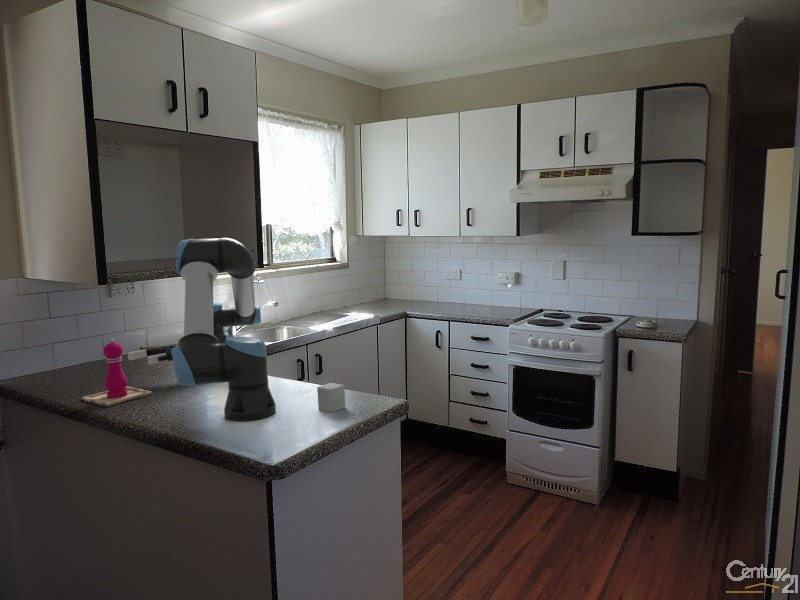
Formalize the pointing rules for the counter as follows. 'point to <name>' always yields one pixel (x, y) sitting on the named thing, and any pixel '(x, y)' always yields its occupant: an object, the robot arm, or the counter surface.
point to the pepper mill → (115, 371)
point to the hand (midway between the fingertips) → (138, 358)
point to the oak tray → (105, 401)
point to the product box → (331, 397)
